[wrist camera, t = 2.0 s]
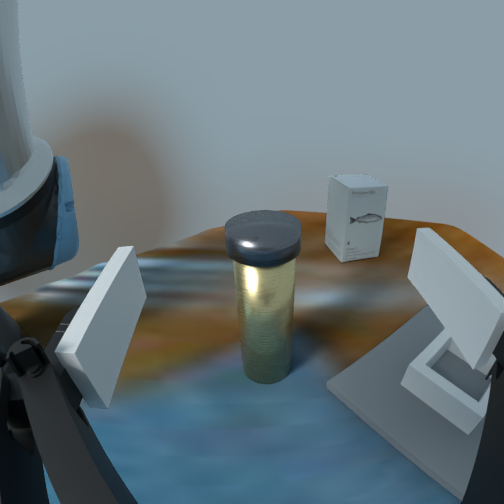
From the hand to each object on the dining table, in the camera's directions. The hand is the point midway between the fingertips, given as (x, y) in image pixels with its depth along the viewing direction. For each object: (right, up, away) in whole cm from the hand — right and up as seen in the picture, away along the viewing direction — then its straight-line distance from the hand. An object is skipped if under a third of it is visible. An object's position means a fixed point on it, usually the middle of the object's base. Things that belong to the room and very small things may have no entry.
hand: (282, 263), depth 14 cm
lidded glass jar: (0, -11, +18) cm, 21 cm away
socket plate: (+20, -14, +12) cm, 27 cm away
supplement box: (+16, +1, +39) cm, 42 cm away
